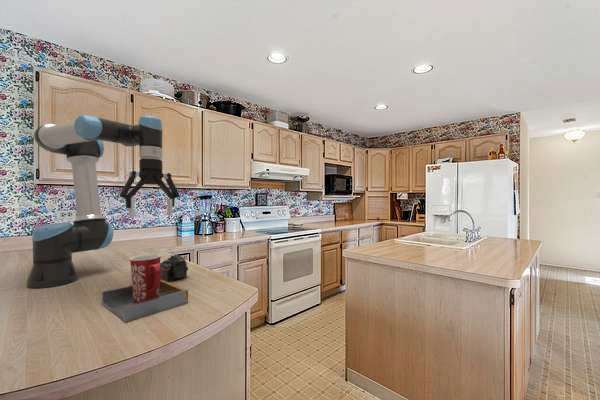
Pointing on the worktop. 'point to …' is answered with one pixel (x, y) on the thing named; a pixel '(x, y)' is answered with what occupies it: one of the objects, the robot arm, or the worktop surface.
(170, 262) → the camera
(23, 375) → the worktop surface
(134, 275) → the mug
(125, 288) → the tray
